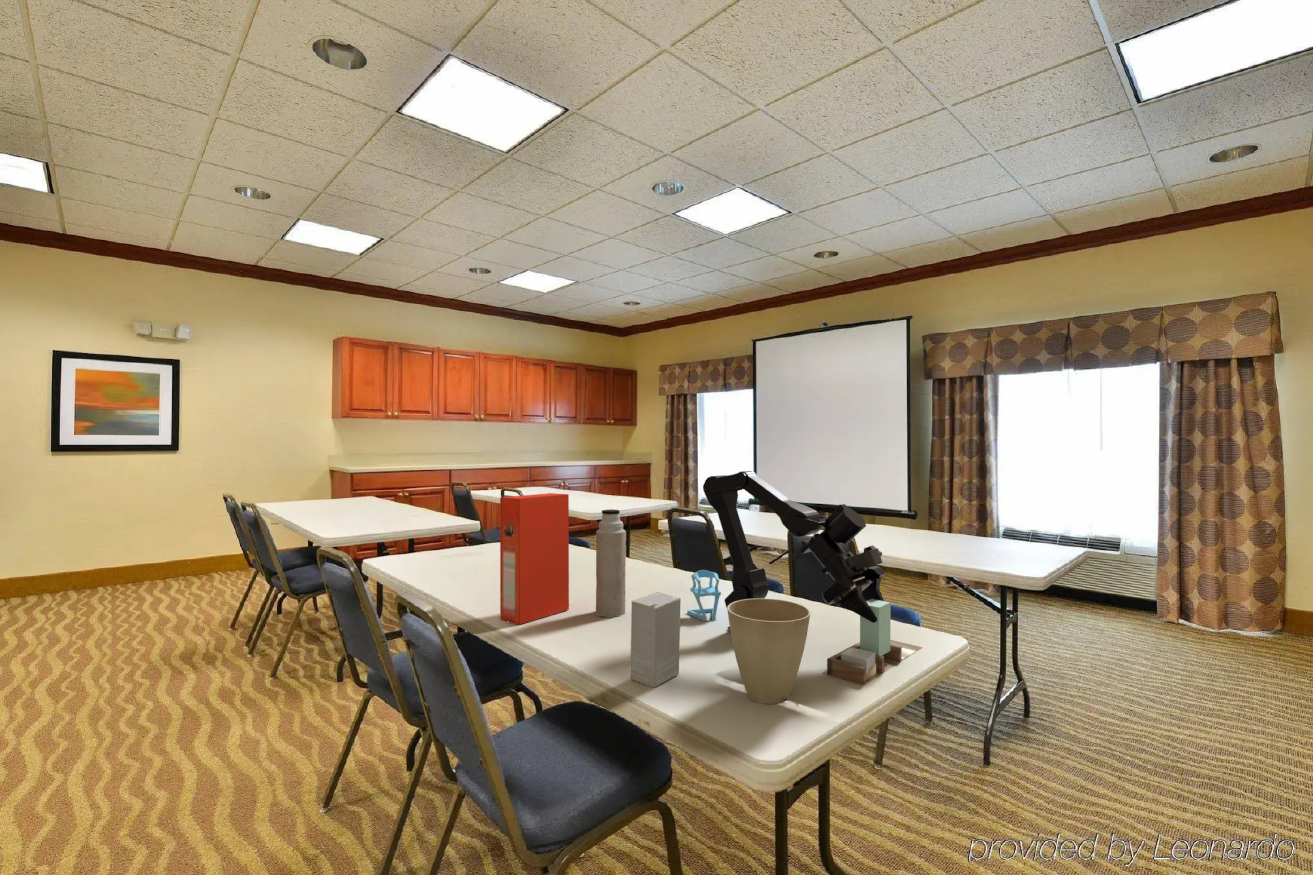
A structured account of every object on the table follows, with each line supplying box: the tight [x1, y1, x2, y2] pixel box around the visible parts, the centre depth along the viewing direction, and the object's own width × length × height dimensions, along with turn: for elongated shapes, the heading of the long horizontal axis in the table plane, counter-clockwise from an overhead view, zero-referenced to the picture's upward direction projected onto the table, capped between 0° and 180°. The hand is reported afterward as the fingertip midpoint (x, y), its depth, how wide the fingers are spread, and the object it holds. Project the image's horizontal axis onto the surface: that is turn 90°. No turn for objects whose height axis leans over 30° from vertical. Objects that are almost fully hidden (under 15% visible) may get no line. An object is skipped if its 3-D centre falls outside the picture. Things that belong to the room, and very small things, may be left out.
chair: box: [687, 569, 722, 622], centre depth 161 cm, size 8×8×12 cm
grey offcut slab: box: [841, 646, 875, 670], centre depth 118 cm, size 5×5×2 cm
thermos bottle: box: [595, 509, 627, 618], centre depth 164 cm, size 8×8×28 cm
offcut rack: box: [821, 639, 924, 686], centre depth 126 cm, size 30×8×4 cm, turn 136°
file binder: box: [499, 492, 570, 625], centre depth 162 cm, size 8×17×32 cm, turn 143°
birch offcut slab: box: [866, 663, 876, 680], centre depth 118 cm, size 5×5×2 cm
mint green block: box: [859, 599, 892, 656], centre depth 125 cm, size 6×4×10 cm
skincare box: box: [629, 591, 682, 688], centre depth 118 cm, size 8×7×16 cm
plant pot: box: [726, 598, 811, 705], centre depth 110 cm, size 15×15×16 cm
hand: (881, 618), depth 124 cm, fingers closed on mint green block, 5 cm apart
